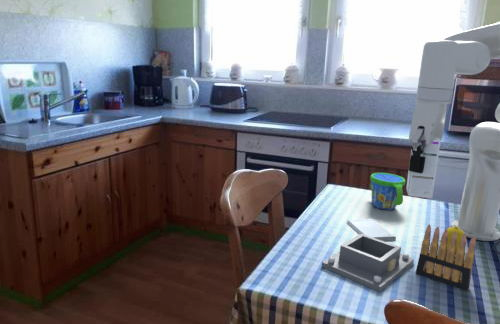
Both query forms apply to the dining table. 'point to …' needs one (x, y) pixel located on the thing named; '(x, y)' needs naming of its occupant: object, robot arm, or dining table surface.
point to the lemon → (450, 233)
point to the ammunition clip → (446, 259)
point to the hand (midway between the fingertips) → (422, 168)
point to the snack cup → (386, 190)
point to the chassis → (369, 262)
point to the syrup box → (425, 173)
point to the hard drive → (371, 229)
